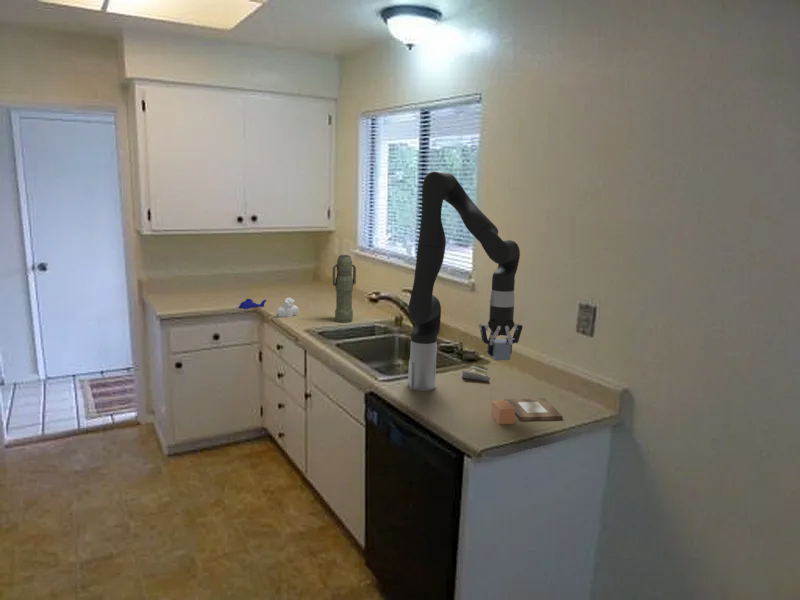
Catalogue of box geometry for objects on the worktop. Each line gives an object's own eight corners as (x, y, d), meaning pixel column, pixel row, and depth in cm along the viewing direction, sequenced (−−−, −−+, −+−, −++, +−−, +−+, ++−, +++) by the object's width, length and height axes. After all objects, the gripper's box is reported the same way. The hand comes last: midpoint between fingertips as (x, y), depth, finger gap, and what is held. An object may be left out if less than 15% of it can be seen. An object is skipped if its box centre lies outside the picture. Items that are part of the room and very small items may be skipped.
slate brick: (495, 360, 182) (495, 345, 181) (488, 354, 188) (489, 339, 187) (510, 360, 182) (511, 344, 181) (503, 353, 189) (503, 339, 188)
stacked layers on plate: (486, 390, 218) (489, 378, 221) (489, 378, 211) (492, 365, 214) (460, 383, 219) (464, 371, 223) (463, 371, 212) (466, 359, 216)
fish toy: (240, 312, 312) (240, 300, 311) (237, 310, 319) (237, 298, 318) (268, 311, 319) (267, 298, 317) (265, 308, 325) (264, 296, 324)
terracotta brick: (498, 424, 176) (499, 409, 175) (491, 415, 182) (492, 400, 181) (514, 424, 176) (515, 408, 175) (506, 415, 183) (507, 400, 182)
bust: (295, 315, 310) (295, 294, 308) (301, 318, 304) (301, 297, 302) (274, 317, 303) (274, 296, 301) (280, 320, 297) (279, 299, 295)
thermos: (358, 324, 294) (359, 256, 287) (336, 326, 288) (337, 257, 281) (350, 320, 302) (351, 254, 295) (329, 322, 296) (330, 254, 289)
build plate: (519, 420, 179) (520, 416, 178) (504, 402, 193) (504, 399, 193) (562, 419, 181) (562, 415, 180) (543, 401, 195) (544, 398, 195)
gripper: (483, 306, 177) (481, 359, 181) (528, 306, 179) (524, 358, 183) (476, 301, 185) (474, 352, 188) (519, 301, 187) (516, 351, 190)
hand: (499, 355), depth 185 cm, fingers closed on slate brick, 5 cm apart
